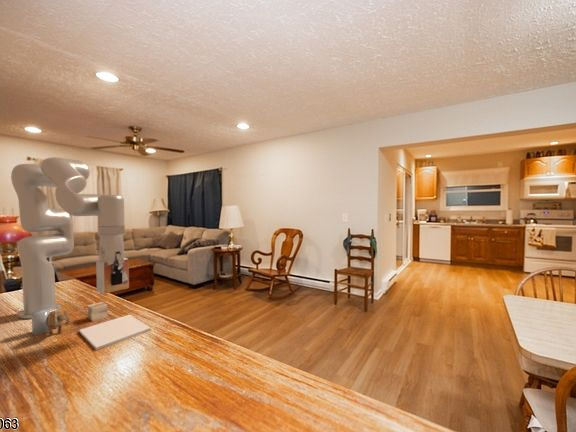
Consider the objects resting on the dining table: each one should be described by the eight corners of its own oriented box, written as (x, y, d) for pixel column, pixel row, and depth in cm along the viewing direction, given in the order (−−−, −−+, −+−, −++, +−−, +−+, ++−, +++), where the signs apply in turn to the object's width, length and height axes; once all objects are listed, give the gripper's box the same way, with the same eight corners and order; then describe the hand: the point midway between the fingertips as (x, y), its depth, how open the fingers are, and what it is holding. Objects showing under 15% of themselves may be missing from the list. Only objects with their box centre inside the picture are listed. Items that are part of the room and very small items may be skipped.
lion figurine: (66, 336, 87) (65, 310, 87) (44, 341, 84) (43, 314, 84) (70, 320, 99) (70, 297, 99) (52, 324, 96) (51, 300, 96)
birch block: (88, 318, 101) (87, 305, 101) (103, 313, 105) (102, 301, 105) (92, 321, 98) (91, 308, 98) (107, 317, 102) (107, 304, 102)
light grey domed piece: (31, 332, 90) (30, 312, 90) (48, 327, 94) (47, 308, 93) (33, 336, 87) (32, 315, 87) (51, 331, 91) (50, 311, 91)
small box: (104, 294, 85) (103, 262, 85) (96, 291, 88) (95, 260, 88) (129, 287, 92) (128, 258, 92) (121, 285, 95) (120, 256, 94)
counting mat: (79, 332, 90) (79, 329, 90) (129, 316, 103) (129, 314, 103) (96, 350, 79) (96, 347, 79) (150, 330, 92) (150, 327, 92)
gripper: (90, 230, 92) (92, 280, 92) (108, 233, 81) (109, 290, 82) (114, 228, 97) (116, 276, 98) (134, 231, 87) (135, 285, 88)
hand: (113, 282), depth 90 cm, fingers closed on small box, 6 cm apart
